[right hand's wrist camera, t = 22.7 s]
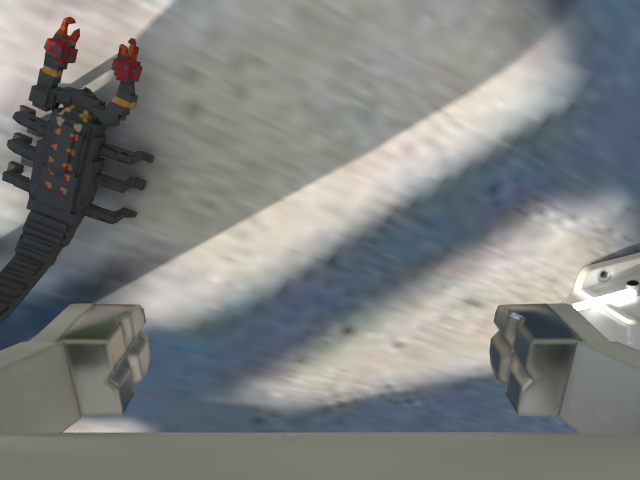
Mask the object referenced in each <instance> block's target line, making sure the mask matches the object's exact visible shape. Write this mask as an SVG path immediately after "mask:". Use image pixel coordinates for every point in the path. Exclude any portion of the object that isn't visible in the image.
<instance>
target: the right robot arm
mask: <svg viewBox="0 0 640 480" xmlns="http://www.w3.org/2000/svg"><path fill="white" fill-rule="evenodd" d="M602 272H604V273H603V274H602V275H600V274H601V273H602ZM145 323H146V319H145V314H144V309H143V308H142V307H141V306H140V305H139V304H95V303H85V304H70V305H69V306H68V307H67V308H66V309H65V310H63V311H62V312H61V313H60V314H59V315H58V316H57V317H56V318H55V319H54V320H53V321H52V322H50V323H49V324H48V325H47V326H46V327H45V328H44V329H43V330H42V331H41V332H40V333H39V334H37V335H36V336H35V337H34V338H33V339H32V340H31V341H30V342H20V343H18V344H15V345H13V346H11V347H8V348H6V349H3V350H1V351H0V480H640V252H638V253H635V254H631V255H627V256H623V257H619V258H615V259H611V260H607V261H603V262H599V263H595V264H591V265H588V266H586V267H584V268H583V269H582V270H581V272H580V273H579V275H578V277H577V280H576V283H575V286H574V289H573V291H572V293H571V294H570V296H569V297H568V298H567V299H566V300H565V302H564V303H557V304H511V305H499V306H498V308H497V310H496V312H495V318H494V323H495V324H496V326H497V327H498V329H499V331H498V332H497V333H496V334H495V335H494V336H493V337H492V338H491V343H490V362H491V366H492V369H493V372H494V374H495V376H496V378H497V380H499V381H501V382H502V383H504V384H505V385H507V387H506V393H505V394H506V395H507V397H508V399H509V400H510V402H511V404H512V405H513V407H514V409H515V411H516V412H517V414H518V415H527V416H559V419H561V420H562V421H564V422H565V423H566V424H568V425H569V426H570V427H572V428H573V429H574V430H576V431H577V432H578V433H62V432H63V431H65V430H66V429H67V428H69V427H70V426H71V425H73V424H74V423H75V422H77V421H78V420H79V419H81V416H112V415H122V414H123V412H124V411H125V409H126V407H127V406H128V404H129V402H130V400H131V399H132V397H133V395H134V394H135V393H134V387H133V385H135V384H136V383H138V382H139V381H141V380H143V378H144V376H145V374H146V372H147V370H148V365H149V361H150V343H149V338H148V337H147V336H146V335H145V334H144V333H143V332H142V331H141V329H142V328H143V326H144V324H145Z"/></svg>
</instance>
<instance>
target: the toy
mask: <svg viewBox="0 0 640 480" xmlns="http://www.w3.org/2000/svg"><path fill="white" fill-rule="evenodd" d="M73 23H76V22H75V20H74V19H73V18H72V17H67V18H64V20H63V22H62V24H61V27H60V29H59V30H58V31H57V32H56V33H55V35H54V37H53V38H48V39H47V41H46V43H45V46H44V49H45V50H46V53H45V60H44V67H43V68H40V72H39V77H38V82H37V85H34V86H32V88H31V92H30V96H29V100H30V101H32V102H33V104H32V105H33V106H35V107H37V108H39V109H41V110H44V111H46V112H47V111H49V110H52V114H51V119H50V120H49V121H45V120H43V119H41V118H38V117H36V116H35V113H36V111H35V110H34V109H31V108H29V107H27V106H24V105H20V111H18V112H15V113H14V115H13V117H12V118H13V119H14V120H15V121H16V122H18V123H19V124H20V125H22V126H25V127H27V128H29V129H31V130H33V131H36V132H38V133H40V134H42V135H43V139H42V140H39V141H37V145H36V147H34V146H32V145H30V144H31V143H32V138H31V137H28V136H26V135H23V134H21V133H18V132H17V133H14V136H13V139H11V140H8V143H7V147H8V148H9V149H10V150H11V151H13V152H14V153H16V154H18V155H21V156H23V157H25V158H27V159H29V160H32V161H34V163H33V169H32V175H31V180H30V178H28V177H25V176H23V175H21V174H22V173H23V171H24V170H23V168H24V165H21V164H19V163H16V162H14V161H11V162H9V164H8V169H7V171H5V172H3V174H2V175H3V177H2V180H3V181H6V182H8V183H11V184H13V185H14V186H16V187H18V188H20V189H22V190H25V191H27V192H29V201H28V204H27V209H29V210H31V212H30V213H29V215H28V217H27V219H26V222H25V224H24V227H23V233H22V235H21V236H20V238H19V241H18V243H17V246H16V248H15V251H16V254H15V256H14V257H13V258H12V260H11V261H10V262H9V263H8V264H7V265H6V266H5V267H4V268H3V270H2V271H1V272H0V324H1V323H2V322H3V321H5V320H6V319H7V318H8V316H9V315H10V314H11V313H12V312H13V311H14V309H15V308H16V307H17V306H18V305H19V304H20V303H21V302H22V300H23V299H24V298H25V297H26V295H27V294H28V293H29V292H30V290H31V289H32V288H33V287H34V285H35V284H36V283H37V282H38V281H39V279H40V278H41V277H42V276H43V275H44V273H45V272H46V271H47V269H48V268H49V267H50V266H51V265H53V264H54V261H56V258H57V255H59V252H60V251H61V250H62V248H63V247H65V246H67V245H68V244H69V243H70V241H71V240H72V238H73V236H74V233H75V231H76V228H77V227H78V226H79V224H80V223H81V221H82V219H83V217H84V216H88V217H91V218H94V219H97V220H100V221H103V222H107V223H110V224H114V223H117V222H118V221H120V220H121V219H122V218H124V217H131V218H135V217H136V214H137V213H136V212H133V211H131V210H128V209H126V208H122V209H120V210H118V211H115V212H114V211H110V210H107V209H104V208H101V207H98V206H96V205H94V204H91V203H92V202H93V199H94V196H95V193H96V189H97V187H96V186H97V184H98V185H100V186H103V187H106V188H109V189H112V190H115V191H118V192H121V193H124V192H125V191H127V190H128V189H129V188H137V189H140V190H144V188H145V185H146V181H143V180H141V179H138V178H134V179H132V178H129V179H128V180H126V181H122V180H119V179H116V178H113V177H110V176H108V175H103V174H101V171H102V167H103V163H104V159H103V158H101V157H100V155H103V156H105V157H108V158H111V159H113V160H116V161H119V162H123V163H127V164H134V163H136V162H138V161H140V160H144V161H147V162H150V163H151V162H153V158H154V156H151V155H149V154H147V153H144V152H142V151H138V152H134V153H133V152H131V151H128V150H125V149H122V148H119V147H116V146H113V145H109V144H106V143H105V140H106V136H105V135H104V134H105V130H106V127H107V126H109V127H116V126H117V125H120V120H125V118H126V115H129V112H130V108H135V106H136V102H137V98H138V96H137V95H135V88H134V83H135V81H137V82H138V81H139V78H140V74H141V71H142V68H143V67H142V66H140V62H138V61H136V59H137V55H138V50H139V48H138V47H136V41H135V39H132V38H131V39H130V40H129V41H128V42H129V43H130V44H131V46H130V48H129V50H128V49H127V46H125V45H123V44H121V45H120V47H119V53H118V57H117V58H115V59H114V61H113V64H112V68H111V69H112V70H114V71H115V73H114V75H116V76H117V78H116V80H120V81H121V82H120V86H119V89H118V92H117V94H116V95H115V97H114V98H113V99H112V101H111V102H110V103H109V104H108V105H107V107H105V102H103V101H101V100H99V99H97V97H96V96H95V95H94V94H93V93H92V91H91V90H90V89H88V88H86V87H85V88H84V89H75V88H71V87H66V88H60V87H57V86H58V83H59V84H60V81H61V77H62V73H63V69H67V65H68V63H75V61H76V56H77V52H78V49H75V45H76V42H77V40H78V39H79V37H80V28H79V29H77V30H75V31H74V32H73V33H72V35H71V36H68V35H67V29H68V24H73ZM60 104H63V106H64V107H63V108H58V106H59V105H60ZM98 120H99V121H101V122H99V121H98Z"/></svg>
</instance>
